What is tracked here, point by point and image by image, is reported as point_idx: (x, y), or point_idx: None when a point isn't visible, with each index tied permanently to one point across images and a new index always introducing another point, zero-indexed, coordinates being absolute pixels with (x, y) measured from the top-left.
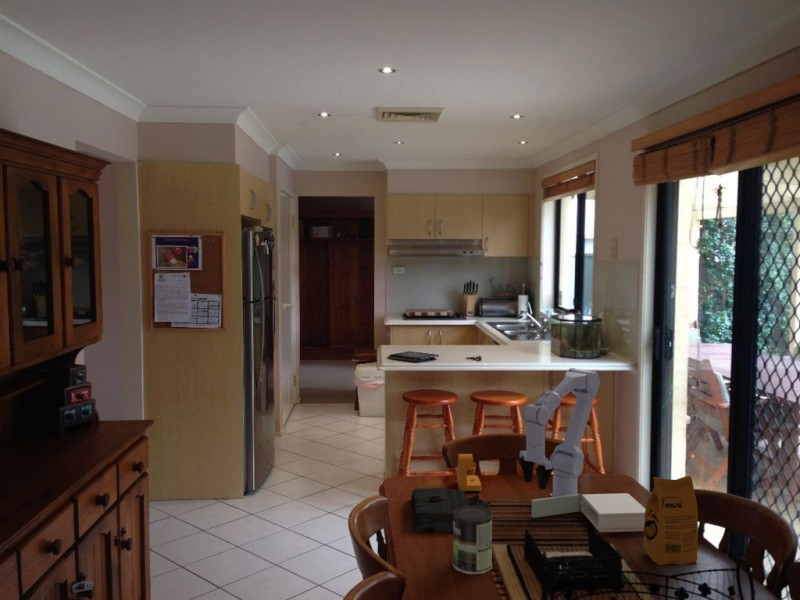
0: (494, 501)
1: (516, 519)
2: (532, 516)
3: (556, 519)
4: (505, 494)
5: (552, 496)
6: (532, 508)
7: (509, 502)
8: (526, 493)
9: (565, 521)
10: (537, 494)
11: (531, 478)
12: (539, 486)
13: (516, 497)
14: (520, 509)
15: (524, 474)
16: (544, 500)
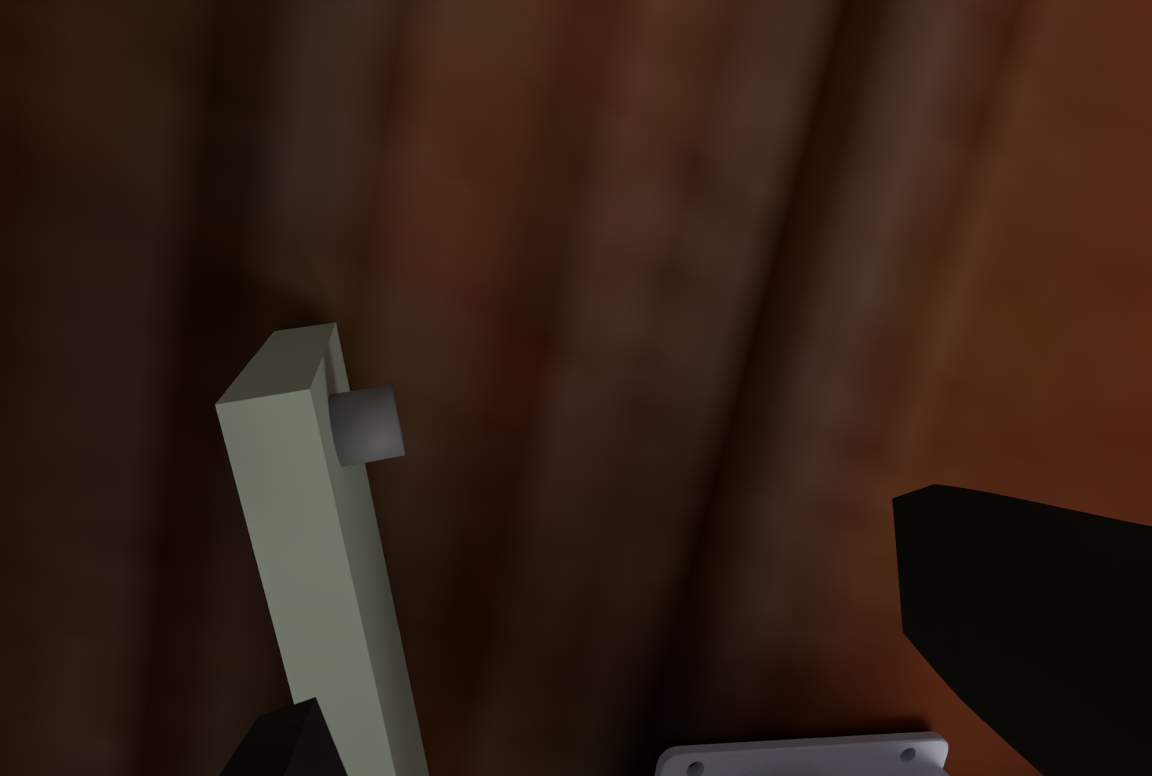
0: (1005, 14)
1: (291, 51)
2: (309, 328)
3: (219, 628)
4: (1135, 261)
5: (873, 748)
6: (291, 354)
7: (910, 212)
8: None
9: (132, 719)
10: None
11: (963, 683)
12: (238, 769)
13: (1014, 360)
14: (657, 269)
15: (1110, 558)
16: (282, 636)
